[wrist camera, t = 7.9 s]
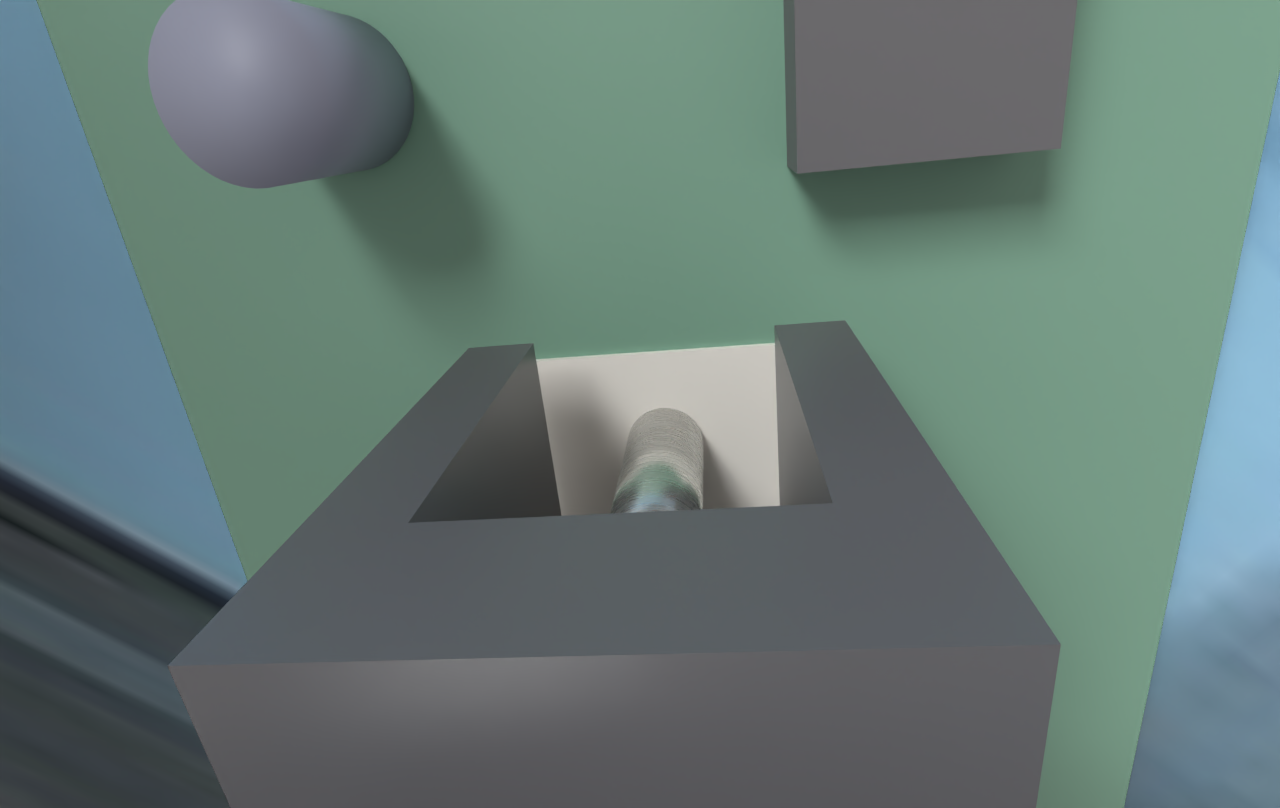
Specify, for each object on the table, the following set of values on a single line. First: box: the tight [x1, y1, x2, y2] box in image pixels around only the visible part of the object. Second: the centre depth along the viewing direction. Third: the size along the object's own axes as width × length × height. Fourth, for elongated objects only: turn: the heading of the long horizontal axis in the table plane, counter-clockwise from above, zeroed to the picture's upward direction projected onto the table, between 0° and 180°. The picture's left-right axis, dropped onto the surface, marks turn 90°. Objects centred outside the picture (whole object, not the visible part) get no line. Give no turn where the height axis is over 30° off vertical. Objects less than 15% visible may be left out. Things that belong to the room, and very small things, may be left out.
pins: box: [610, 408, 704, 514], centre depth 11 cm, size 7×1×4 cm, turn 6°
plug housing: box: [168, 320, 1061, 808], centre depth 9 cm, size 10×5×6 cm, turn 6°
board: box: [37, 0, 1280, 808], centre depth 11 cm, size 24×16×3 cm, turn 6°
